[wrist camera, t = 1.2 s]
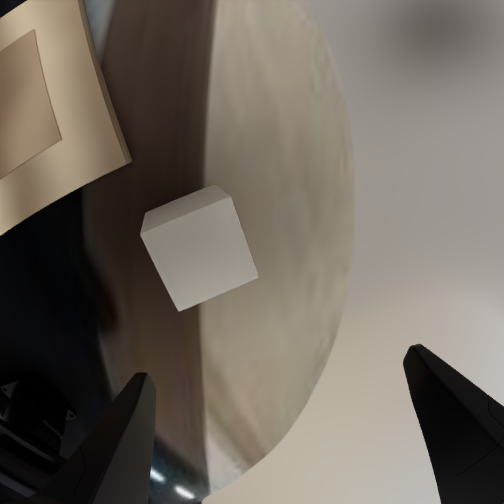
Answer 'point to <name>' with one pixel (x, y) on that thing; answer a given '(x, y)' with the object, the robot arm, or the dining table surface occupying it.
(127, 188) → the dining table surface
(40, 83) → the oak base
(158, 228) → the cream cube
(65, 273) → the dining table surface
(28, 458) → the robot arm
